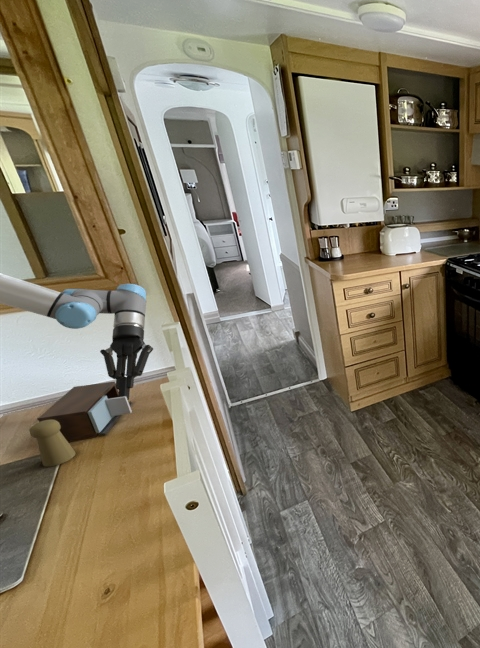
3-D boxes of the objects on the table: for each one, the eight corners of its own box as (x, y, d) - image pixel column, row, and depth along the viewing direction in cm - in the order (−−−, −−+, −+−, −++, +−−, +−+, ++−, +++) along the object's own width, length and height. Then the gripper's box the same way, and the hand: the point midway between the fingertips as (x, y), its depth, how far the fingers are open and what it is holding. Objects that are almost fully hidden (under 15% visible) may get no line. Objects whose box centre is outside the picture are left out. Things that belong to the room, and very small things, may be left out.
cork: (36, 464, 95) (17, 428, 91) (64, 449, 101) (48, 414, 97) (53, 468, 94) (35, 432, 90) (81, 453, 100) (66, 418, 95)
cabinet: (49, 444, 102) (37, 418, 99) (84, 410, 118) (73, 386, 115) (105, 435, 107) (95, 409, 103) (131, 403, 122) (123, 380, 119)
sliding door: (96, 433, 106) (87, 412, 103) (111, 415, 114) (103, 395, 111) (121, 429, 108) (112, 408, 105) (133, 412, 116) (126, 392, 113)
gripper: (158, 331, 127) (155, 398, 119) (110, 336, 123) (103, 405, 115) (148, 321, 121) (144, 391, 112) (96, 326, 116) (88, 399, 108)
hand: (123, 398), depth 114 cm, fingers closed
